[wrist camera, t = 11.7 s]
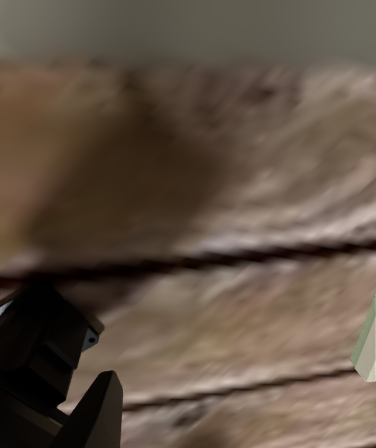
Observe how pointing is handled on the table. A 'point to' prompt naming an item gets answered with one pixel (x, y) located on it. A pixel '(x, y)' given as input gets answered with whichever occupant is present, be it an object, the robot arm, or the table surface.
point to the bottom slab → (364, 333)
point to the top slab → (368, 356)
